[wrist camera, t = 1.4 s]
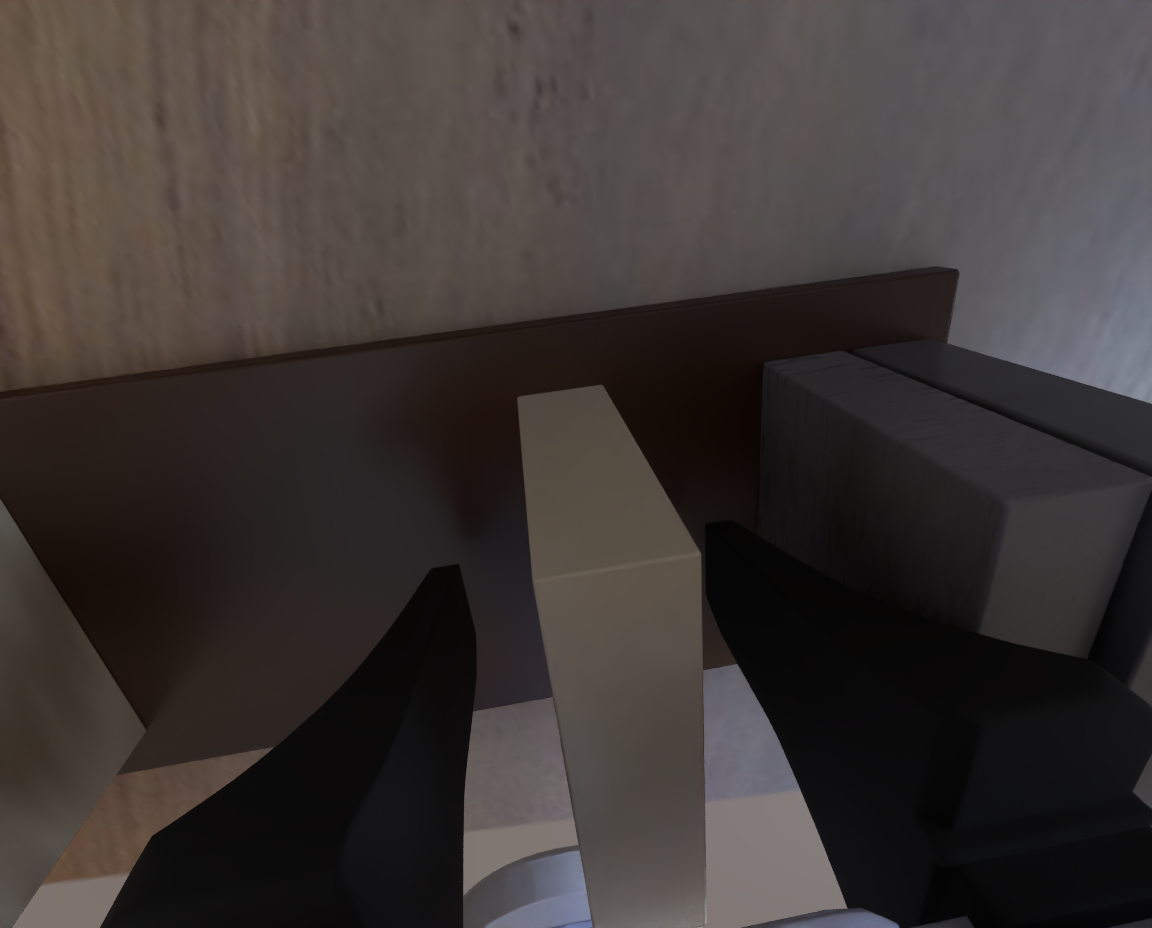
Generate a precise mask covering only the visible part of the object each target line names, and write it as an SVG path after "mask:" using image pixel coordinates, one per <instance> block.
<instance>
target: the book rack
mask: <svg viewBox="0 0 1152 928" xmlns="http://www.w3.org/2000/svg"><path fill="white" fill-rule="evenodd" d="M959 274H960V271H959V270H958V269H953V268H945V267H937V266H936V267H929V268H921V269H914V270H906V271H899V272H891V273H884V274H877V275H869V276H862V277H854V278H847V279H839V280H832V281H824V282H817V283H809V284H802V285H794V286H787V287H779V288H772V289H765V290H757V291H750V292H742V293H735V294H727V295H720V296H712V297H705V298H697V299H690V300H682V301H675V302H667V303H660V304H653V305H645V306H638V307H630V308H623V309H615V310H608V311H600V312H593V313H585V314H578V315H570V316H563V317H556V318H548V319H541V320H533V321H526V322H518V323H511V324H503V325H496V326H488V327H481V328H473V329H466V330H458V331H451V332H444V333H436V334H429V335H421V336H414V337H406V338H399V339H391V340H384V341H376V342H369V343H361V344H354V345H346V346H339V347H332V348H324V349H317V350H309V351H302V352H294V353H287V354H279V355H272V356H264V357H257V358H249V359H242V360H235V361H227V362H220V363H212V364H205V365H197V366H190V367H182V368H175V369H167V370H160V371H152V372H145V373H137V374H130V375H123V376H115V377H108V378H100V379H93V380H85V381H78V382H70V383H63V384H55V385H48V386H40V387H33V388H25V389H18V390H11V391H3V392H0V928H12V927H13V925H14V924H15V922H16V921H17V919H18V918H19V916H20V915H21V913H22V912H23V911H24V909H25V908H26V906H27V905H28V903H29V902H30V900H31V899H32V897H33V896H34V894H35V893H36V891H37V890H38V889H39V887H40V886H41V884H42V883H43V881H44V880H45V878H46V877H47V875H48V874H49V873H50V871H51V870H52V868H53V867H54V865H55V864H56V862H57V861H58V859H59V858H60V856H61V855H62V854H63V852H64V851H65V849H66V848H67V846H68V845H69V843H70V842H71V840H72V839H73V837H74V836H75V835H76V833H77V832H78V830H79V829H80V827H81V826H82V824H83V823H84V821H85V820H86V818H87V817H88V816H89V814H90V813H91V811H92V810H93V808H94V807H95V805H96V804H97V802H98V801H99V799H100V798H101V797H102V795H103V794H104V792H105V791H106V789H107V788H108V786H109V785H110V783H111V782H112V780H113V779H114V778H115V776H116V775H119V774H125V773H130V772H136V771H142V770H147V769H153V768H158V767H164V766H170V765H175V764H181V763H186V762H192V761H198V760H203V759H209V758H214V757H220V756H225V755H231V754H237V753H242V752H248V751H253V750H259V749H265V748H270V747H276V746H277V745H278V744H280V743H281V742H282V741H283V740H284V739H285V738H286V737H288V736H289V735H290V734H291V733H292V732H293V731H294V730H295V729H296V728H298V727H299V726H300V725H301V724H302V723H303V722H304V721H305V720H306V719H308V718H309V717H310V716H311V715H312V714H313V713H314V712H315V711H316V710H317V709H319V708H320V707H321V706H322V705H323V704H324V703H325V702H326V701H327V700H328V699H329V698H330V697H331V696H332V695H333V694H334V693H335V692H336V691H337V690H338V689H339V688H340V687H341V686H342V685H343V684H344V682H345V681H346V680H347V679H348V678H349V677H350V676H351V675H352V674H353V673H354V672H355V670H356V669H357V668H358V667H359V666H360V665H361V664H362V662H363V661H364V660H365V659H366V657H367V656H368V655H369V654H370V652H371V651H372V650H373V649H374V647H375V646H376V645H377V644H378V643H379V641H380V640H381V639H382V637H383V636H384V635H385V634H386V632H387V631H388V629H389V628H390V627H391V625H392V624H393V623H394V621H395V620H396V618H397V617H398V616H399V614H400V613H401V612H402V610H403V609H404V607H405V606H406V604H407V603H408V601H409V600H410V599H411V597H412V596H413V594H414V593H415V591H416V590H417V588H418V587H419V585H420V584H421V582H422V581H423V579H424V578H425V576H426V575H427V573H428V572H429V571H430V570H431V568H436V567H442V566H448V565H454V564H459V566H460V570H461V574H462V578H463V582H464V586H465V590H466V594H467V599H468V603H469V607H470V611H471V615H472V619H473V623H474V627H475V631H476V646H477V679H476V689H475V698H474V707H473V711H477V710H483V709H488V708H494V707H499V706H505V705H511V704H516V703H522V702H527V701H533V700H539V699H544V698H550V697H553V696H552V690H551V684H550V678H549V673H548V667H547V661H546V656H545V650H544V644H543V639H542V633H541V627H540V621H539V616H538V610H537V604H536V599H535V593H534V587H533V581H532V569H531V557H530V545H529V534H528V522H527V510H526V498H525V486H524V474H523V462H522V450H521V438H520V427H519V415H518V403H517V398H518V397H519V396H526V395H533V394H540V393H547V392H554V391H561V390H568V389H575V388H582V387H589V386H596V385H603V387H604V388H605V390H606V392H607V393H608V395H609V397H610V399H611V400H612V402H613V404H614V405H615V407H616V409H617V411H618V412H619V414H620V416H621V417H622V419H623V421H624V422H625V424H626V426H627V428H628V429H629V431H630V433H631V434H632V436H633V438H634V440H635V441H636V443H637V445H638V446H639V448H640V450H641V452H642V453H643V455H644V457H645V458H646V460H647V462H648V464H649V465H650V467H651V469H652V470H653V472H654V474H655V476H656V477H657V479H658V481H659V482H660V484H661V486H662V488H663V489H664V491H665V493H666V494H667V496H668V498H669V500H670V501H671V503H672V505H673V506H674V508H675V510H676V512H677V513H678V515H679V517H680V518H681V520H682V522H683V524H684V525H685V527H686V529H687V530H688V532H689V534H690V536H691V537H692V539H693V541H694V542H695V544H696V546H697V548H698V549H699V551H700V553H701V574H702V641H703V670H706V669H712V668H718V667H723V666H729V665H734V664H737V662H736V660H735V659H734V657H733V655H732V653H731V651H730V650H729V648H728V646H727V644H726V642H725V640H724V639H723V637H722V635H721V633H720V630H719V628H718V626H717V623H716V621H715V618H714V616H713V613H712V611H711V608H710V605H709V603H708V600H707V598H706V578H705V524H707V523H713V522H719V521H726V520H732V521H734V522H736V523H738V524H740V525H741V526H743V527H745V528H746V529H748V530H750V531H751V532H753V533H754V534H756V535H758V536H759V537H761V538H763V539H764V540H766V541H768V542H769V543H771V544H772V545H774V546H776V547H777V548H779V549H781V550H782V551H784V552H786V553H787V554H789V555H791V556H793V557H794V558H796V559H798V560H800V561H801V562H803V563H805V564H807V565H809V566H810V567H812V568H814V569H816V570H818V571H820V572H822V573H823V574H825V575H827V576H829V577H831V578H833V579H835V580H837V581H839V582H841V583H843V584H845V585H847V586H849V587H852V588H854V589H856V590H858V591H860V592H863V593H865V594H867V595H870V596H872V597H874V598H877V599H879V600H881V601H884V602H886V603H888V604H891V605H893V606H896V607H899V608H901V609H904V610H907V611H909V612H912V613H915V614H918V615H921V616H924V617H927V618H930V619H932V620H935V621H938V622H941V623H944V624H947V625H950V626H954V627H957V628H960V629H964V630H967V631H970V632H974V633H977V634H981V635H985V636H989V637H992V638H996V639H1000V640H1004V641H1007V642H1011V643H1015V644H1019V645H1024V646H1028V647H1033V648H1038V649H1042V650H1047V651H1052V652H1057V653H1061V654H1066V655H1071V656H1075V657H1080V658H1085V659H1090V660H1092V661H1094V662H1095V663H1096V664H1098V665H1099V666H1100V667H1102V668H1103V669H1104V670H1106V671H1107V672H1108V673H1109V674H1111V675H1112V676H1113V677H1115V678H1116V679H1117V680H1119V681H1120V682H1121V683H1123V684H1124V685H1125V686H1126V687H1128V688H1129V689H1130V690H1132V691H1133V692H1134V693H1136V694H1137V695H1138V696H1140V697H1141V698H1142V699H1143V700H1145V701H1146V702H1147V703H1149V704H1150V706H1151V707H1152V404H1150V403H1147V402H1144V401H1140V400H1137V399H1134V398H1130V397H1127V396H1123V395H1120V394H1117V393H1113V392H1110V391H1106V390H1103V389H1100V388H1096V387H1093V386H1090V385H1086V384H1083V383H1079V382H1076V381H1073V380H1069V379H1066V378H1062V377H1059V376H1056V375H1052V374H1049V373H1046V372H1042V371H1039V370H1035V369H1032V368H1029V367H1025V366H1022V365H1018V364H1015V363H1012V362H1008V361H1005V360H1002V359H998V358H995V357H991V356H988V355H985V354H981V353H978V352H974V351H971V350H968V349H964V348H961V347H958V346H954V345H951V344H947V341H948V336H949V330H950V324H951V319H952V313H953V307H954V302H955V296H956V291H957V285H958V279H959ZM1133 792H1134V793H1135V794H1136V795H1137V796H1138V797H1139V798H1140V799H1141V800H1142V801H1143V802H1144V803H1145V804H1147V805H1148V806H1149V807H1150V808H1151V809H1152V754H1151V756H1150V758H1149V760H1148V762H1147V764H1146V766H1145V768H1144V770H1143V772H1142V774H1141V776H1140V778H1139V780H1138V782H1137V784H1136V786H1135V788H1134V790H1133ZM1149 826H1151V827H1152V825H1149Z"/></svg>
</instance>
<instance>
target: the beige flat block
mask: <svg viewBox="0 0 1152 928" xmlns="http://www.w3.org/2000/svg"><path fill="white" fill-rule="evenodd" d="M517 403H518V415H519V427H520V438H521V450H522V462H523V474H524V486H525V498H526V510H527V522H528V534H529V545H530V557H531V569H532V581H533V587H534V593H535V599H536V604H537V610H538V616H539V621H540V627H541V633H542V639H543V644H544V650H545V656H546V661H547V667H548V673H549V678H550V684H551V690H552V696H553V701H554V707H555V713H556V718H557V724H558V730H559V735H560V741H561V747H562V753H563V758H564V764H565V770H566V775H567V781H568V787H569V792H570V798H571V804H572V810H573V815H574V821H575V827H576V832H577V838H578V844H579V849H580V855H581V861H582V867H583V872H584V878H585V884H586V889H587V895H588V901H589V906H590V912H591V918H592V923H593V928H696V927H701V926H705V925H706V924H707V915H706V914H707V912H706V845H705V777H704V709H703V641H702V574H701V553H700V551H699V549H698V548H697V546H696V544H695V542H694V541H693V539H692V537H691V536H690V534H689V532H688V530H687V529H686V527H685V525H684V524H683V522H682V520H681V518H680V517H679V515H678V513H677V512H676V510H675V508H674V506H673V505H672V503H671V501H670V500H669V498H668V496H667V494H666V493H665V491H664V489H663V488H662V486H661V484H660V482H659V481H658V479H657V477H656V476H655V474H654V472H653V470H652V469H651V467H650V465H649V464H648V462H647V460H646V458H645V457H644V455H643V453H642V452H641V450H640V448H639V446H638V445H637V443H636V441H635V440H634V438H633V436H632V434H631V433H630V431H629V429H628V428H627V426H626V424H625V422H624V421H623V419H622V417H621V416H620V414H619V412H618V411H617V409H616V407H615V405H614V404H613V402H612V400H611V399H610V397H609V395H608V393H607V392H606V390H605V388H604V387H603V385H596V386H589V387H582V388H575V389H568V390H561V391H554V392H547V393H540V394H533V395H526V396H519V397H518V398H517Z"/></svg>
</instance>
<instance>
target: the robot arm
mask: <svg viewBox="0 0 1152 928" xmlns="http://www.w3.org/2000/svg"><path fill="white" fill-rule="evenodd" d="M705 578H706V598H707V600H708V603H709V605H710V608H711V611H712V613H713V616H714V618H715V621H716V623H717V626H718V628H719V630H720V633H721V635H722V637H723V639H724V640H725V642H726V644H727V646H728V648H729V650H730V651H731V653H732V655H733V657H734V659H735V660H736V662H737V664H738V666H739V668H740V669H741V671H742V673H743V675H744V676H745V678H746V680H747V682H748V683H749V685H750V687H751V689H752V691H753V692H754V694H755V696H756V698H757V699H758V701H759V703H760V705H761V707H762V708H763V710H764V712H765V714H766V715H767V717H768V719H769V721H770V723H771V725H772V727H773V729H774V731H775V733H776V735H777V737H778V739H779V741H780V744H781V746H782V748H783V750H784V753H785V755H786V757H787V760H788V762H789V764H790V766H791V769H792V771H793V773H794V776H795V778H796V780H797V783H798V785H799V787H800V790H801V792H802V794H803V797H804V799H805V802H806V804H807V807H808V809H809V811H810V814H811V816H812V819H813V821H814V823H815V826H816V828H817V830H818V833H819V835H820V838H821V841H822V843H823V846H824V848H825V851H826V854H827V856H828V859H829V861H830V864H831V866H832V869H833V871H834V874H835V876H836V879H837V882H838V884H839V887H840V889H841V892H842V895H843V897H844V900H845V903H846V905H847V908H848V909H833V910H822V911H818V912H813V913H808V914H803V915H799V916H794V917H789V918H785V919H780V920H775V921H770V922H766V923H761V924H756V925H751V926H747V927H742V928H1152V827H1151V826H1149V825H1152V809H1151V808H1150V807H1149V806H1148V805H1147V804H1145V803H1144V802H1143V801H1142V800H1141V799H1140V798H1139V797H1138V796H1137V795H1136V794H1135V793H1134V792H1133V790H1134V788H1135V786H1136V784H1137V782H1138V780H1139V778H1140V776H1141V774H1142V772H1143V770H1144V768H1145V766H1146V764H1147V762H1148V760H1149V758H1150V756H1151V754H1152V707H1151V706H1150V704H1149V703H1147V702H1146V701H1145V700H1143V699H1142V698H1141V697H1140V696H1138V695H1137V694H1136V693H1134V692H1133V691H1132V690H1130V689H1129V688H1128V687H1126V686H1125V685H1124V684H1123V683H1121V682H1120V681H1119V680H1117V679H1116V678H1115V677H1113V676H1112V675H1111V674H1109V673H1108V672H1107V671H1106V670H1104V669H1103V668H1102V667H1100V666H1099V665H1098V664H1096V663H1095V662H1094V661H1092V660H1090V659H1085V658H1080V657H1075V656H1071V655H1066V654H1061V653H1057V652H1052V651H1047V650H1042V649H1038V648H1033V647H1028V646H1024V645H1019V644H1015V643H1011V642H1007V641H1004V640H1000V639H996V638H992V637H989V636H985V635H981V634H977V633H974V632H970V631H967V630H964V629H960V628H957V627H954V626H950V625H947V624H944V623H941V622H938V621H935V620H932V619H930V618H927V617H924V616H921V615H918V614H915V613H912V612H909V611H907V610H904V609H901V608H899V607H896V606H893V605H891V604H888V603H886V602H884V601H881V600H879V599H877V598H874V597H872V596H870V595H867V594H865V593H863V592H860V591H858V590H856V589H854V588H852V587H849V586H847V585H845V584H843V583H841V582H839V581H837V580H835V579H833V578H831V577H829V576H827V575H825V574H823V573H822V572H820V571H818V570H816V569H814V568H812V567H810V566H809V565H807V564H805V563H803V562H801V561H800V560H798V559H796V558H794V557H793V556H791V555H789V554H787V553H786V552H784V551H782V550H781V549H779V548H777V547H776V546H774V545H772V544H771V543H769V542H768V541H766V540H764V539H763V538H761V537H759V536H758V535H756V534H754V533H753V532H751V531H750V530H748V529H746V528H745V527H743V526H741V525H740V524H738V523H736V522H734V521H732V520H726V521H719V522H713V523H707V524H705ZM476 679H477V646H476V631H475V627H474V623H473V619H472V615H471V611H470V607H469V603H468V599H467V594H466V590H465V586H464V582H463V578H462V574H461V570H460V566H459V564H454V565H448V566H442V567H436V568H431V570H430V571H429V572H428V573H427V575H426V576H425V578H424V579H423V581H422V582H421V584H420V585H419V587H418V588H417V590H416V591H415V593H414V594H413V596H412V597H411V599H410V600H409V601H408V603H407V604H406V606H405V607H404V609H403V610H402V612H401V613H400V614H399V616H398V617H397V618H396V620H395V621H394V623H393V624H392V625H391V627H390V628H389V629H388V631H387V632H386V634H385V635H384V636H383V637H382V639H381V640H380V641H379V643H378V644H377V645H376V646H375V647H374V649H373V650H372V651H371V652H370V654H369V655H368V656H367V657H366V659H365V660H364V661H363V662H362V664H361V665H360V666H359V667H358V668H357V669H356V670H355V672H354V673H353V674H352V675H351V676H350V677H349V678H348V679H347V680H346V681H345V682H344V684H343V685H342V686H341V687H340V688H339V689H338V690H337V691H336V692H335V693H334V694H333V695H332V696H331V697H330V698H329V699H328V700H327V701H326V702H325V703H324V704H323V705H322V706H321V707H320V708H319V709H317V710H316V711H315V712H314V713H313V714H312V715H311V716H310V717H309V718H308V719H306V720H305V721H304V722H303V723H302V724H301V725H300V726H299V727H298V728H296V729H295V730H294V731H293V732H292V733H291V734H290V735H289V736H288V737H286V738H285V739H284V740H283V741H282V742H281V743H280V744H278V745H277V746H276V747H275V748H273V749H272V750H271V751H270V752H269V753H267V754H266V755H265V756H264V757H262V758H261V759H260V760H259V761H257V762H256V763H255V764H254V765H252V766H251V767H250V768H248V769H247V770H246V771H244V772H243V773H242V774H241V775H239V776H238V777H237V778H235V779H234V780H233V781H231V782H230V783H229V784H227V785H226V786H224V787H223V788H222V789H220V790H219V791H218V792H216V793H215V794H213V795H212V796H210V797H209V798H208V799H206V800H205V801H203V802H202V803H200V804H199V805H197V806H196V807H194V808H193V809H192V810H190V811H189V812H187V813H186V814H184V815H183V816H181V817H180V818H178V819H177V820H175V821H174V822H173V823H171V824H170V825H168V826H167V827H165V828H164V829H162V830H161V831H159V832H157V833H156V834H154V835H153V836H152V837H151V839H150V840H149V842H148V843H147V845H146V847H145V848H144V850H143V852H142V853H141V855H140V857H139V859H138V860H137V862H136V864H135V865H134V867H133V869H132V871H131V872H130V874H129V876H128V878H127V880H126V882H125V883H124V885H123V887H122V889H121V890H120V892H119V894H118V896H117V898H116V900H115V901H114V904H113V905H112V907H111V909H110V910H109V912H108V914H107V916H106V918H105V920H104V922H103V923H102V925H101V927H100V928H463V836H464V792H465V778H466V768H467V759H468V750H469V742H470V733H471V724H472V716H473V707H474V698H475V689H476ZM552 928H593V923H592V919H591V920H586V921H581V922H577V923H572V924H567V925H562V926H557V927H552Z"/></svg>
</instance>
